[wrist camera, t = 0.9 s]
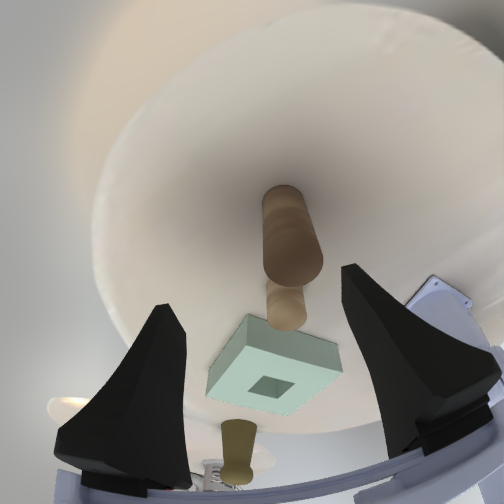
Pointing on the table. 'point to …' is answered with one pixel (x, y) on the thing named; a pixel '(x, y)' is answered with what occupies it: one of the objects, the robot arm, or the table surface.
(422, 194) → the table surface
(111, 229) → the table surface
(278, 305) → the short pin
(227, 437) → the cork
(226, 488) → the french press
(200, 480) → the donut
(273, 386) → the collar block
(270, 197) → the long pin
